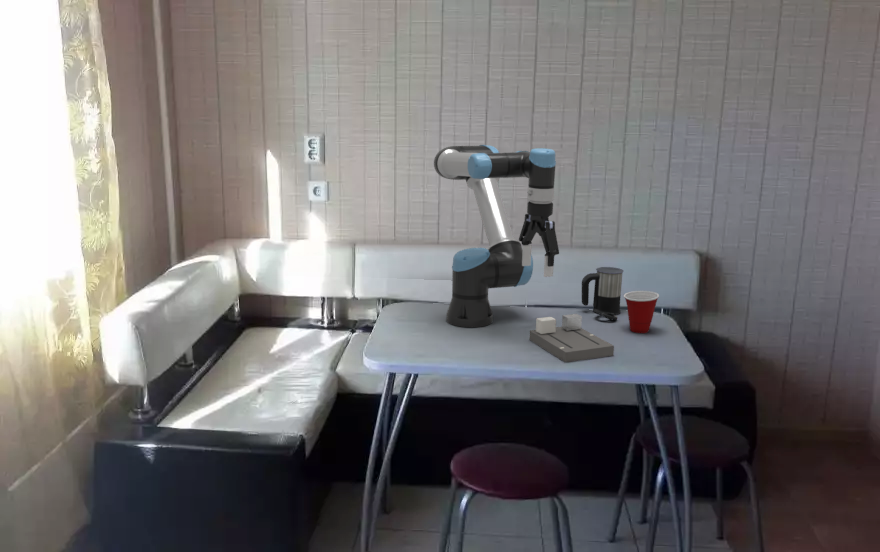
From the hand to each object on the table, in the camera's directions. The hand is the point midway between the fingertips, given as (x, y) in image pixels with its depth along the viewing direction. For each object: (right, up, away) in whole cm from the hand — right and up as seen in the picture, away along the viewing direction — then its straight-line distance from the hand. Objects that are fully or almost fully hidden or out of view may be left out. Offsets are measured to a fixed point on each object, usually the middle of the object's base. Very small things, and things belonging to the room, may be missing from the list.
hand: (537, 271), depth 249 cm
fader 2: (+11, -17, +2) cm, 21 cm away
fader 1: (+2, -18, -2) cm, 18 cm away
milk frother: (+27, -15, +27) cm, 41 cm away
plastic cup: (+33, -19, +11) cm, 40 cm away
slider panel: (+9, -23, -6) cm, 25 cm away
